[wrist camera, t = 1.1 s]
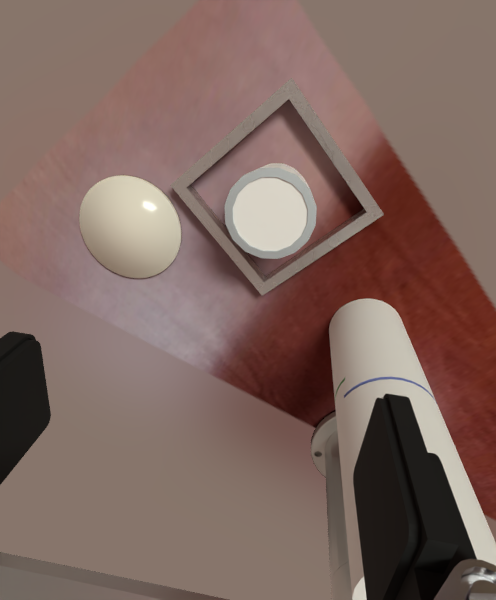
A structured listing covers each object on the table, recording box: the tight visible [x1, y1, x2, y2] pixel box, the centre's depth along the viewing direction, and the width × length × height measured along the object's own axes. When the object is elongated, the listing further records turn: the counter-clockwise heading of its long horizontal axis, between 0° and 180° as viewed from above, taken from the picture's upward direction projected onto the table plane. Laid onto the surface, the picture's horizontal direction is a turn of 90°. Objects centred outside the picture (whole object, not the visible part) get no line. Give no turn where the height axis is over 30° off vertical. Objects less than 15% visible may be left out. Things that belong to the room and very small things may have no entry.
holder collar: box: [170, 78, 384, 296], centre depth 36 cm, size 13×13×2 cm
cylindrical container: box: [329, 299, 496, 600], centre depth 30 cm, size 7×7×25 cm
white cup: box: [225, 163, 317, 259], centre depth 33 cm, size 7×7×7 cm
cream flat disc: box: [79, 175, 182, 278], centre depth 39 cm, size 10×10×1 cm
